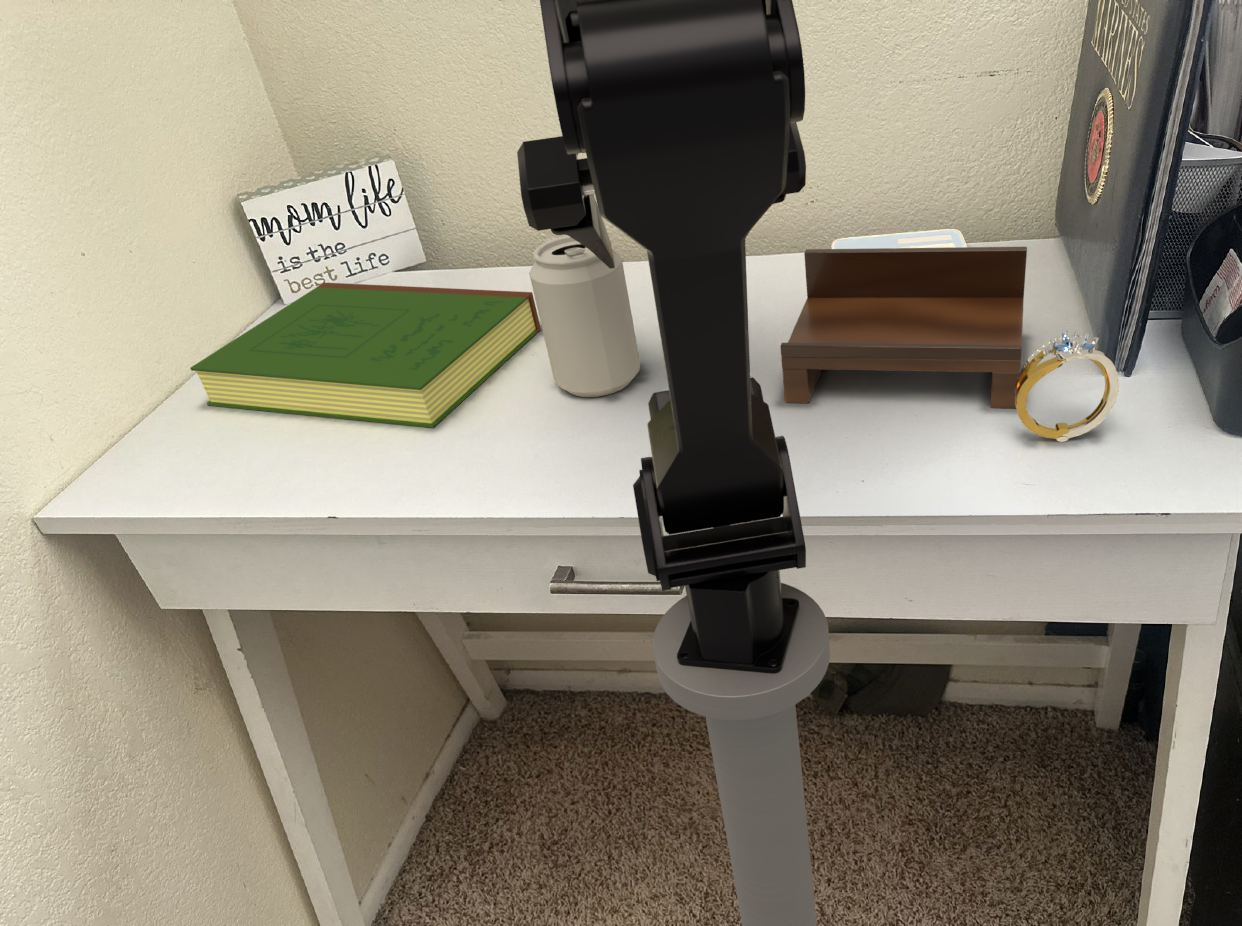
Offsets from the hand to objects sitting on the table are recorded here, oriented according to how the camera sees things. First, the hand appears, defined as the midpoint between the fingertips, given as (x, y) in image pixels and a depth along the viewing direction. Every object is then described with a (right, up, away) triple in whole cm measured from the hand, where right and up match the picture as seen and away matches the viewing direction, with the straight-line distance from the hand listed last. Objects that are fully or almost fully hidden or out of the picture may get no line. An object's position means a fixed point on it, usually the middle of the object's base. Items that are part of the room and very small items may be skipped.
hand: (673, 254), depth 76 cm
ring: (+28, -14, -2) cm, 32 cm away
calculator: (+21, +3, +22) cm, 30 cm away
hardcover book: (-29, -5, +19) cm, 35 cm away
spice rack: (+19, -7, +8) cm, 22 cm away
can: (-7, -7, +12) cm, 16 cm away
